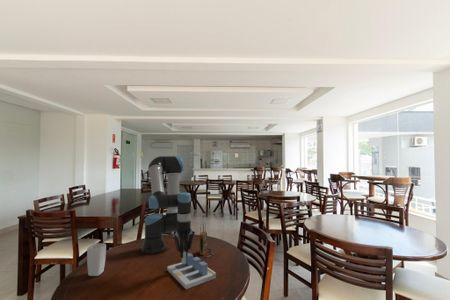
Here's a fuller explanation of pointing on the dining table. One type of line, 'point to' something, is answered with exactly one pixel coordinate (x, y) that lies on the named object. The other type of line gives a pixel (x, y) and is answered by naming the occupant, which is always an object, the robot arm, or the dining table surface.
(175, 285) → the dining table surface
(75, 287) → the dining table surface
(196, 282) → the switch bank
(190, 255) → the tab
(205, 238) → the multimeter
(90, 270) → the cup
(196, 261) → the tab
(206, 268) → the tab
